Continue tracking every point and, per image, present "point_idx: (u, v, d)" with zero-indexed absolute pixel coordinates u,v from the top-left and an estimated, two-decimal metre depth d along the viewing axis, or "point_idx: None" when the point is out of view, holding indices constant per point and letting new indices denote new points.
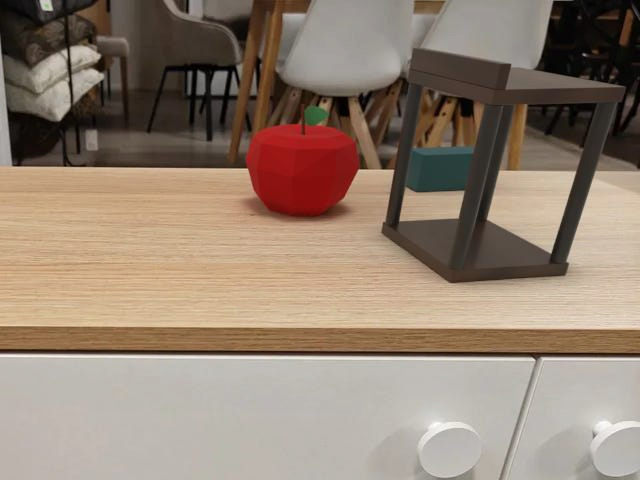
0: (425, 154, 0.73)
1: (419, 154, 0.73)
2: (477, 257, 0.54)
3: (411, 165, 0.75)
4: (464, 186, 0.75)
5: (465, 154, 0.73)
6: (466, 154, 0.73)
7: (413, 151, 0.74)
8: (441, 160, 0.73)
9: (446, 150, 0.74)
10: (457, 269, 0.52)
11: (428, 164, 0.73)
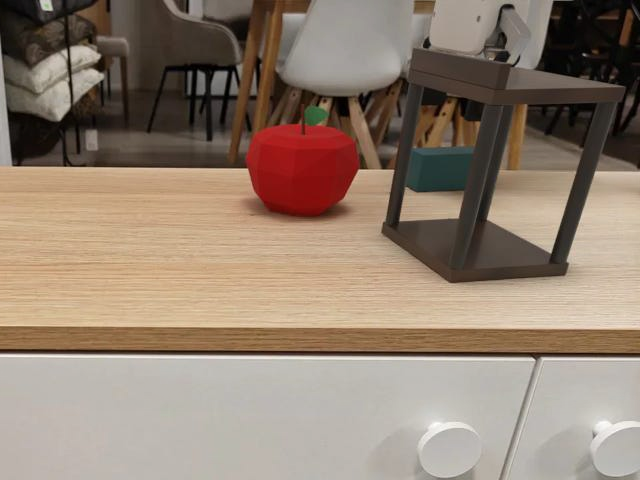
0: (425, 154, 0.73)
1: (419, 154, 0.73)
2: (477, 257, 0.54)
3: (411, 165, 0.75)
4: (464, 186, 0.75)
5: (465, 154, 0.73)
6: (466, 154, 0.73)
7: (413, 151, 0.74)
8: (441, 160, 0.73)
9: (446, 150, 0.74)
10: (457, 269, 0.52)
11: (428, 164, 0.73)
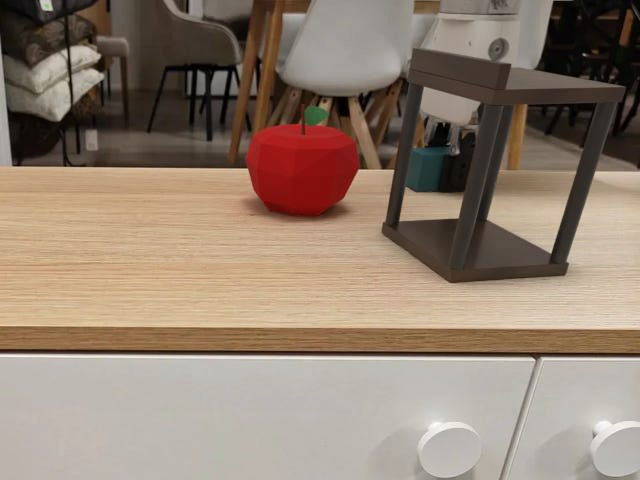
0: (425, 154, 0.73)
1: (419, 154, 0.73)
2: (477, 257, 0.54)
3: (411, 165, 0.75)
4: None
5: None
6: None
7: (413, 151, 0.74)
8: (441, 160, 0.73)
9: (446, 150, 0.74)
10: (457, 269, 0.52)
11: (428, 164, 0.73)
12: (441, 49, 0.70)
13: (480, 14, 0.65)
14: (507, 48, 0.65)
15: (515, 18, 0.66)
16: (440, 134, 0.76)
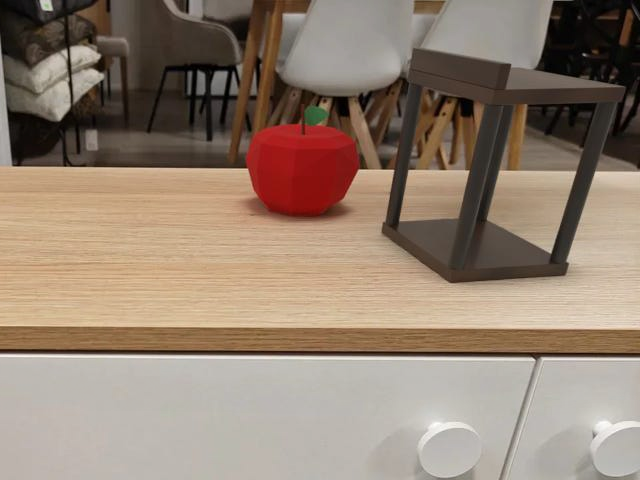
0: None
1: None
2: (477, 257, 0.54)
3: None
4: None
5: None
6: None
7: None
8: None
9: None
10: (457, 269, 0.52)
11: None
12: None
13: None
14: None
15: None
16: None
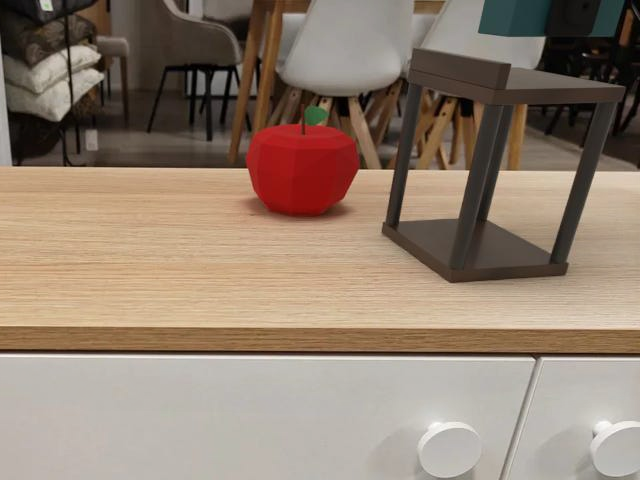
0: None
1: None
2: (477, 257, 0.54)
3: None
4: None
5: None
6: None
7: None
8: None
9: None
10: (457, 269, 0.52)
11: None
12: None
13: None
14: None
15: None
16: None
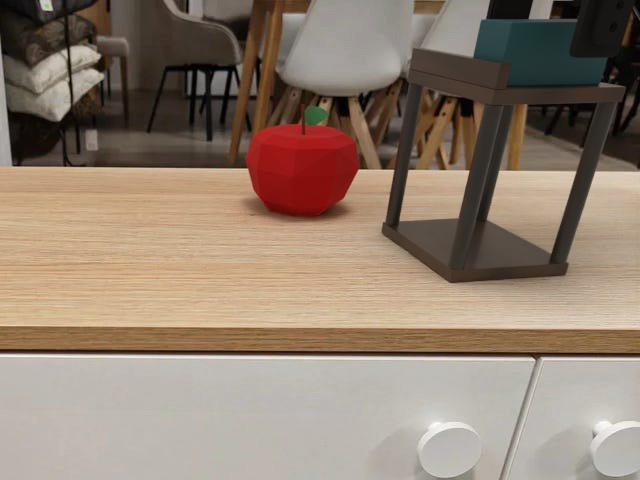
0: (514, 21, 0.45)
1: (503, 23, 0.45)
2: (477, 257, 0.54)
3: (487, 45, 0.47)
4: (572, 79, 0.47)
5: None
6: None
7: (491, 21, 0.46)
8: (539, 33, 0.45)
9: (544, 20, 0.46)
10: (457, 269, 0.52)
11: (518, 39, 0.45)
12: None
13: None
14: None
15: None
16: None
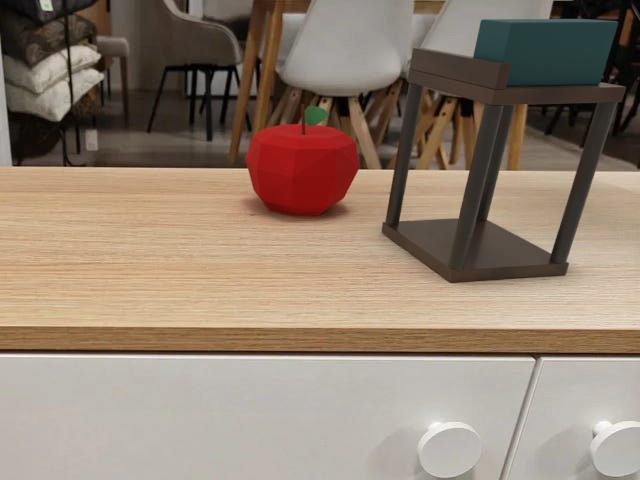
0: (514, 21, 0.45)
1: (503, 23, 0.45)
2: (477, 257, 0.54)
3: (487, 45, 0.47)
4: (572, 79, 0.47)
5: (578, 23, 0.45)
6: (579, 23, 0.45)
7: (491, 21, 0.46)
8: (539, 33, 0.45)
9: (544, 20, 0.46)
10: (457, 269, 0.52)
11: (518, 39, 0.45)
12: None
13: None
14: None
15: None
16: None
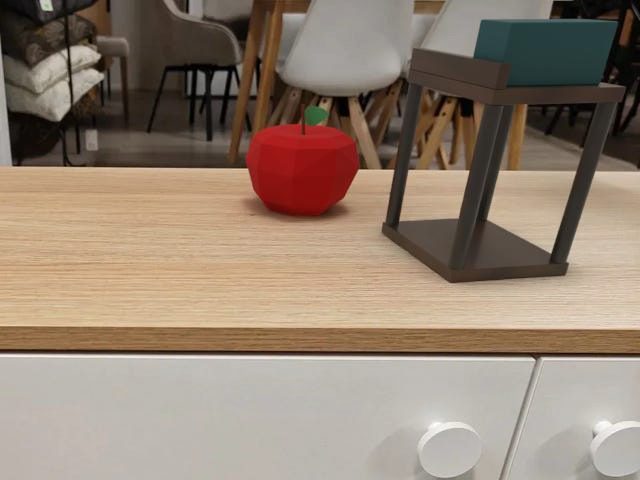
0: (514, 21, 0.45)
1: (503, 23, 0.45)
2: (477, 257, 0.54)
3: (487, 45, 0.47)
4: (572, 79, 0.47)
5: (578, 23, 0.45)
6: (579, 23, 0.45)
7: (491, 21, 0.46)
8: (539, 33, 0.45)
9: (544, 20, 0.46)
10: (457, 269, 0.52)
11: (518, 39, 0.45)
12: None
13: None
14: None
15: None
16: None
